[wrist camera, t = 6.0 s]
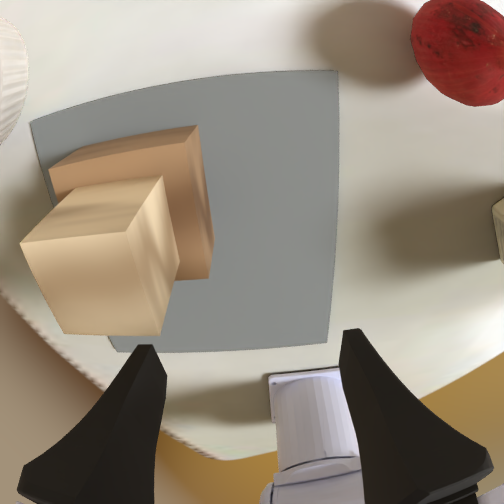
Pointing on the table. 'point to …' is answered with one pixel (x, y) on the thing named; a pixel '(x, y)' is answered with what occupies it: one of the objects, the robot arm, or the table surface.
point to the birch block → (107, 258)
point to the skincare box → (499, 226)
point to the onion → (461, 49)
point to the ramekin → (11, 76)
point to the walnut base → (152, 164)
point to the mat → (237, 201)
